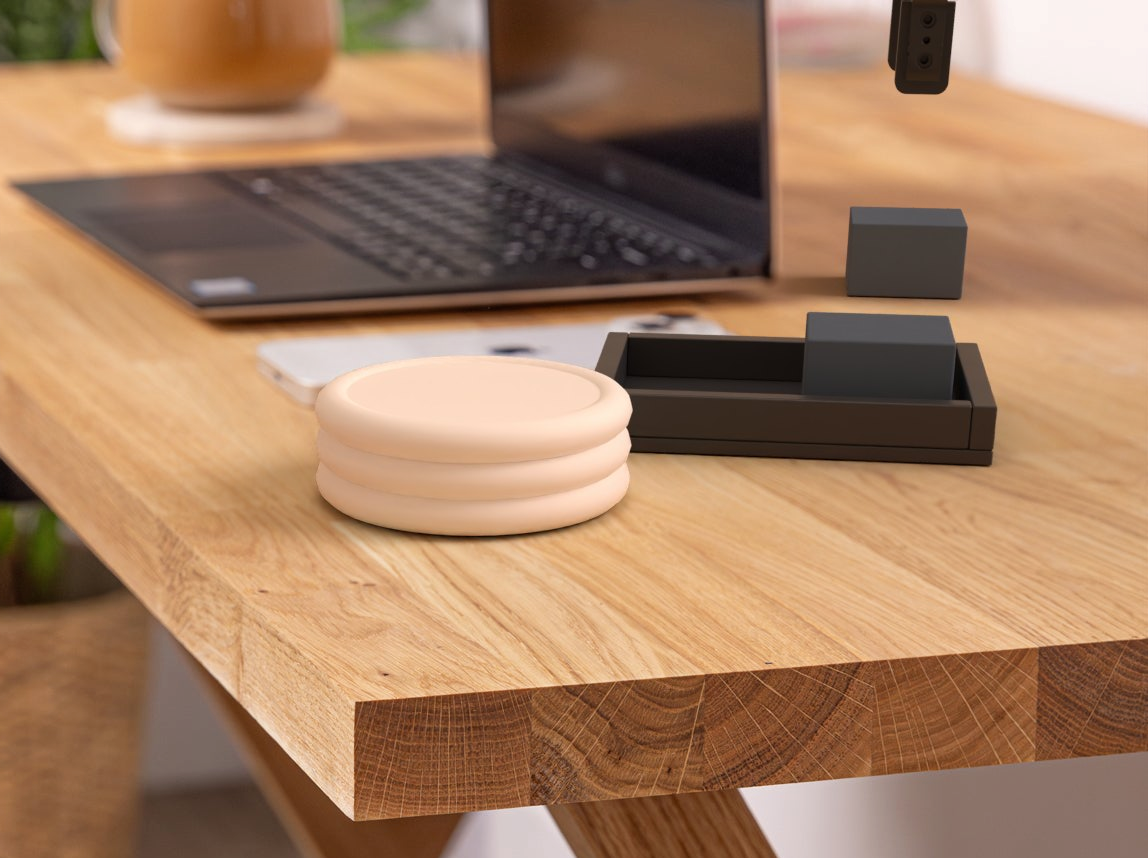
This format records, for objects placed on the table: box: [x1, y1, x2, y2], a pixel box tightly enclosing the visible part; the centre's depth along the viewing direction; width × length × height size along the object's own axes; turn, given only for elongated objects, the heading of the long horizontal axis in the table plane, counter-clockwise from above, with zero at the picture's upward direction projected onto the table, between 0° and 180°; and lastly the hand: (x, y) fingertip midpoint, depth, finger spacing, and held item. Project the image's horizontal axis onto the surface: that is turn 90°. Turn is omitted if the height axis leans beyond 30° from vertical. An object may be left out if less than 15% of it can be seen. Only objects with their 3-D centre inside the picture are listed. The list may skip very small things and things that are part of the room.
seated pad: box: [802, 311, 957, 400], centre depth 79 cm, size 5×5×3 cm
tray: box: [594, 331, 998, 466], centre depth 80 cm, size 14×10×2 cm
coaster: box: [313, 354, 633, 537], centre depth 72 cm, size 10×10×4 cm
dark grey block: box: [844, 205, 969, 300], centre depth 102 cm, size 5×5×3 cm
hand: (915, 81), depth 99 cm, fingers open, 8 cm apart
